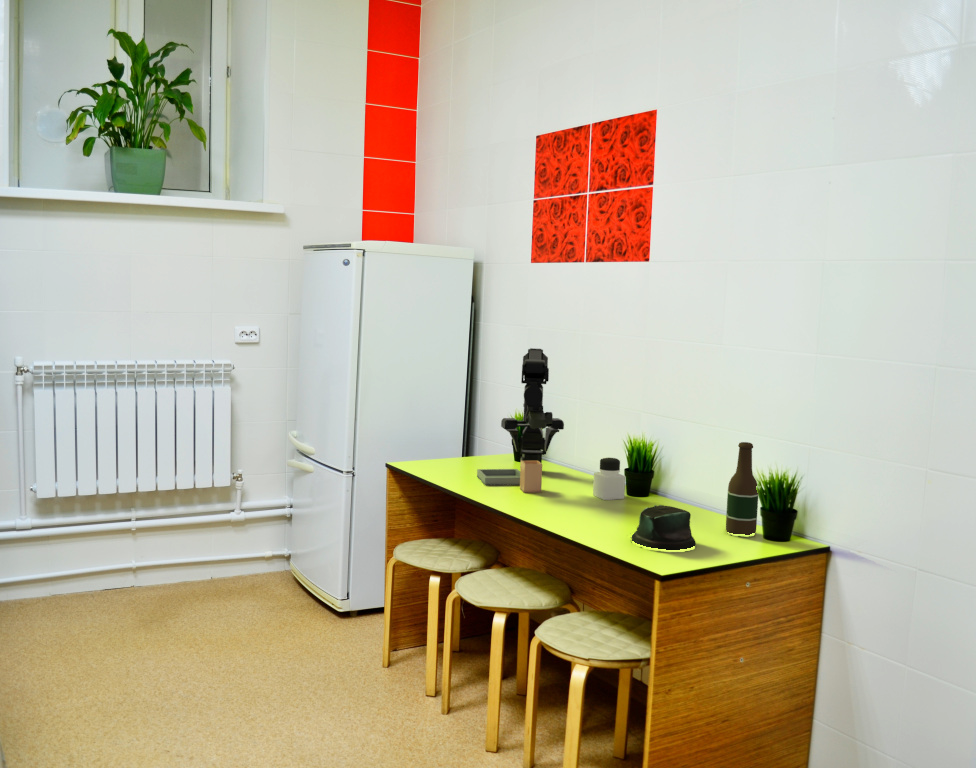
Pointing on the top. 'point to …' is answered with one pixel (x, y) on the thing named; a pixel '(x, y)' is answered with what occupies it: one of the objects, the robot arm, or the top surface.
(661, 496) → the top surface
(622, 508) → the top surface
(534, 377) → the robot arm
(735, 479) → the beer bottle
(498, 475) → the tray
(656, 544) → the dark green bucket hat
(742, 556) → the top surface
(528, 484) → the terracotta cup
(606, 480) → the medicine bottle
